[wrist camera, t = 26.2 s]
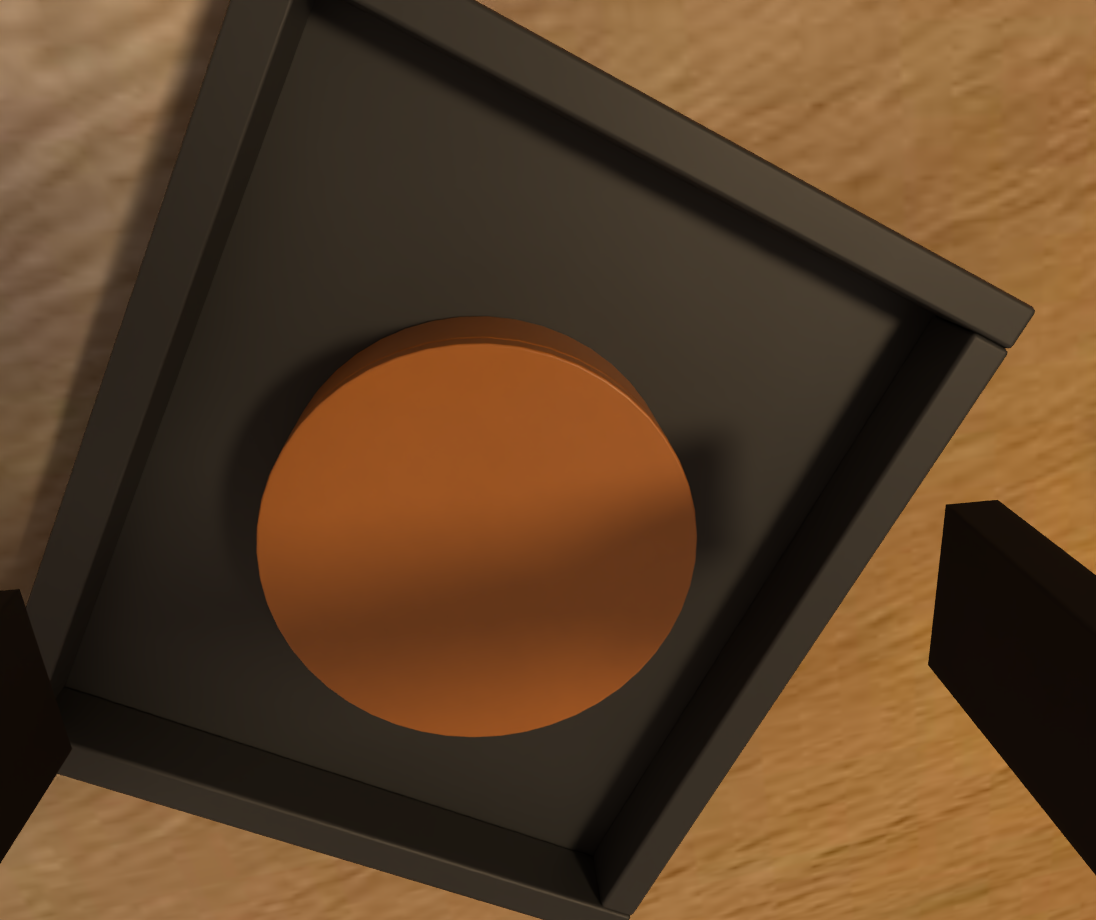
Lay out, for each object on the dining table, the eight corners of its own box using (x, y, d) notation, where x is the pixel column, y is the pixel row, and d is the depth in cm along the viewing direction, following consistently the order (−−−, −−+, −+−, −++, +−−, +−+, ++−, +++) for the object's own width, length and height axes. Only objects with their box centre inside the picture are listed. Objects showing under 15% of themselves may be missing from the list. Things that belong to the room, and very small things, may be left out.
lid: (565, 722, 19) (575, 790, 17) (223, 600, 18) (192, 660, 16) (742, 416, 17) (777, 456, 15) (370, 243, 15) (356, 262, 13)
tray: (294, -86, 14) (267, -115, 12) (977, 288, 17) (1039, 310, 15) (26, 687, 19) (-24, 751, 17) (602, 871, 22) (615, 943, 20)
